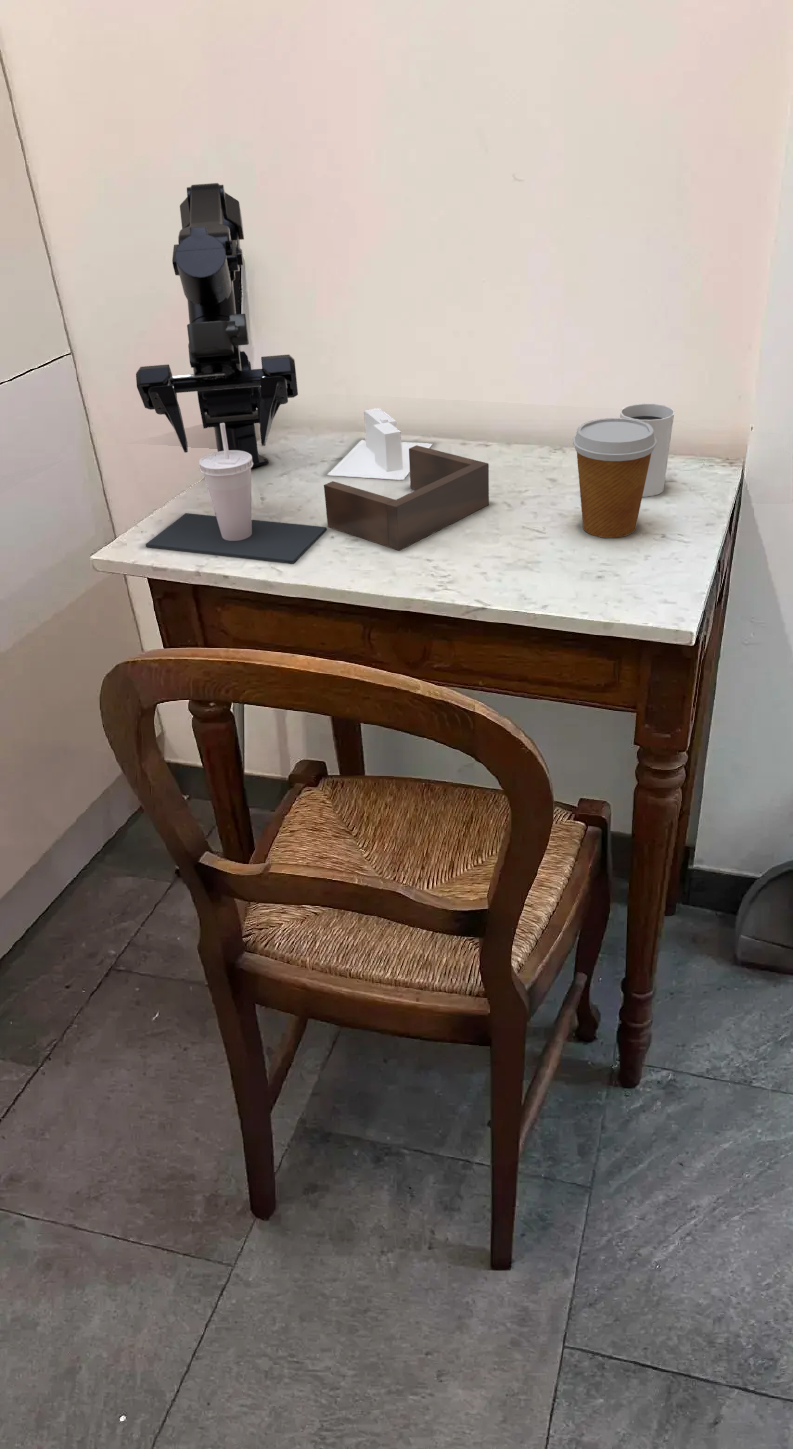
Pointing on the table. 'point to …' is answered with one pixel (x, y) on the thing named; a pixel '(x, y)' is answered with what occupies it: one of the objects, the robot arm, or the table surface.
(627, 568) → the table surface
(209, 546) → the mat
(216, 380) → the robot arm
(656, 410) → the white paper cup
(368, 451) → the napkin holder
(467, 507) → the frame
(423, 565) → the table surface
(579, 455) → the disposable coffee cup
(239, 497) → the smoothie
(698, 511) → the table surface
